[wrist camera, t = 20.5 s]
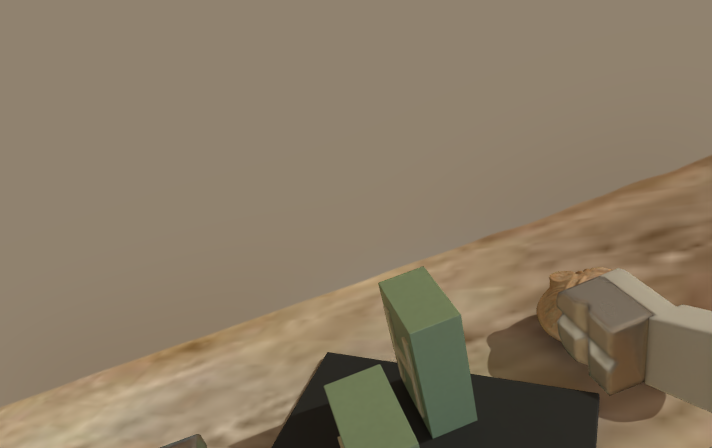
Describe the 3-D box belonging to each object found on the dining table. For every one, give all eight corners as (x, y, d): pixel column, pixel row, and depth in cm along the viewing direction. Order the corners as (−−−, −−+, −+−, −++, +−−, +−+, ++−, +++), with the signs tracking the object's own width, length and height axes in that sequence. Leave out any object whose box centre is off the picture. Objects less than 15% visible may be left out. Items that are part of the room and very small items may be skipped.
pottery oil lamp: (669, 429, 36) (613, 355, 34) (555, 364, 47) (508, 307, 45) (754, 334, 37) (704, 258, 35) (623, 293, 48) (580, 235, 46)
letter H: (430, 440, 39) (406, 335, 34) (400, 382, 44) (375, 283, 39) (477, 420, 39) (461, 314, 34) (442, 365, 44) (423, 265, 39)
